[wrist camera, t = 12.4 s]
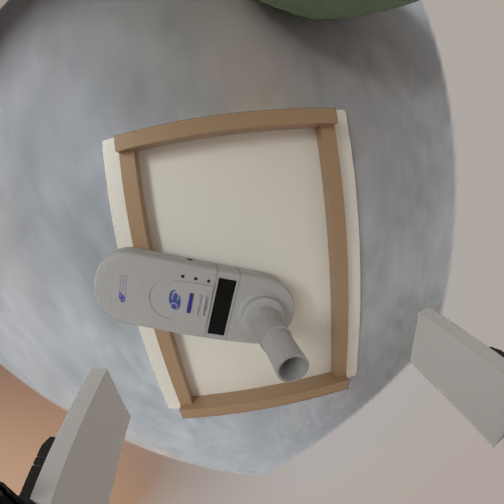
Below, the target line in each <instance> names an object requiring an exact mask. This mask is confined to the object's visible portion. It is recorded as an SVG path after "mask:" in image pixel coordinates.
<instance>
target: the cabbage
mask: <svg viewBox="0 0 504 504" xmlns="http://www.w3.org/2000/svg"><path fill="white" fill-rule="evenodd" d="M259 1H261V2H263V3H265V4H268V5H270V6H273V7H275V8H278V9H281V10H284V11H287V12H290V13H292V14H294V15H297V16H304V17H307V18H310V19H314V20H317V19H340V18H350V17H355V16H361V15H367V14H371V13H376V12H380V11H385V10H389V9H393V8H397V7H400V6H404V5H407V4H410V3H413V2H416V1H419V0H259Z"/></svg>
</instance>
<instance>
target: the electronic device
mask: <svg viewBox="0 0 504 504" xmlns="http://www.w3.org/2000/svg"><path fill="white" fill-rule="evenodd" d="M94 292H95V297H96V299H97V301H98V304H99V306H100V307H101V308H102V309H103V310H104V311H105V312H106V313H107V314H108V315H110V316H111V317H112V318H114V319H116V320H118V321H120V322H124V323H129V324H133V325H138V326H143V327H148V328H153V329H158V330H163V331H168V332H174V333H180V334H186V335H192V336H198V337H205V338H212V339H219V340H226V341H234V342H243V343H252V344H260V346H261V348H262V349H263V350H264V352H266V354H267V356H268V358H269V360H270V362H271V364H272V366H273V368H274V370H275V372H276V374H277V376H278V378H279V379H280V380H281V381H284V382H294V381H297V380H299V379H301V378H302V377H303V376H305V375H306V373H307V372H308V370H309V360H308V359H307V358H306V356H305V355H304V353H303V352H302V350H301V349H300V348H299V346H298V345H297V343H296V342H295V341H294V339H293V338H292V334H291V331H290V330H289V329H288V327H289V325H290V324H291V322H292V319H293V316H294V312H295V305H294V299H293V297H292V294H291V292H290V290H289V289H288V288H287V287H286V286H285V285H284V284H283V283H282V282H280V281H279V280H278V279H277V278H276V277H275V276H273V275H270V274H268V273H265V272H260V271H255V270H250V269H244V268H239V267H237V268H236V267H234V266H228V265H223V264H218V263H216V264H215V263H213V262H207V261H202V260H197V259H192V258H187V257H182V256H177V255H172V254H166V253H161V252H156V251H151V250H146V249H142V248H137V247H124V248H120V249H118V250H116V251H114V252H113V253H111V254H110V255H108V256H107V257H106V258H105V259H104V260H103V261H102V262H101V263H100V264H99V266H98V268H97V270H96V273H95V277H94Z"/></svg>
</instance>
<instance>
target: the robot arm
mask: <svg viewBox="0 0 504 504" xmlns="http://www.w3.org/2000/svg"><path fill="white" fill-rule="evenodd" d="M410 362H411V363H412V364H413V365H414V366H415V367H416V368H417V369H418V370H419V371H420V372H421V373H422V374H423V375H424V376H425V377H426V378H427V379H428V380H429V381H430V382H431V383H432V384H433V385H434V386H435V387H436V388H437V389H438V390H439V391H440V392H441V393H442V394H443V395H444V396H445V397H446V398H447V399H448V400H449V401H450V402H451V403H452V404H453V405H454V406H455V407H456V408H457V409H458V410H459V412H460V413H461V414H462V415H463V416H464V417H465V418H466V419H467V420H468V421H469V422H470V423H471V424H472V425H473V426H474V427H475V428H476V429H477V430H478V431H479V433H480V434H481V435H482V436H483V437H484V438H485V439H486V440H487V441H488V442H489V443H490V444H491V445H492V446H493V447H494V446H495V445H496V444H497V443H499V442H500V441H501V440H502V439H503V438H504V352H502V351H501V350H498V349H495V348H493V347H488V346H487V345H485V344H484V343H482V342H481V341H479V340H478V339H477V338H475V337H474V336H472V335H471V334H469V333H468V332H466V331H465V330H464V329H462V328H461V327H459V326H458V325H456V324H455V323H453V322H451V321H450V320H449V319H447V318H446V317H444V316H443V315H441V314H439V313H438V312H436V311H435V310H433V309H432V308H427V309H425V310H422V311H419V312H418V316H417V323H416V330H415V336H414V342H413V348H412V353H411V358H410ZM130 417H131V416H130V414H129V412H128V411H127V409H126V407H125V405H124V403H123V401H122V399H121V397H120V395H119V393H118V391H117V389H116V387H115V385H114V383H113V381H112V379H111V377H110V375H109V373H108V370H107V369H91V371H90V373H89V375H88V376H87V378H86V380H85V382H84V384H83V385H82V387H81V389H80V391H79V393H78V395H77V396H76V398H75V400H74V402H73V404H72V406H71V408H70V410H69V412H68V414H67V416H66V418H65V420H64V422H63V424H62V426H61V428H60V430H59V432H58V434H57V436H56V437H50V438H49V439H48V440H46V441H45V443H44V444H43V445H42V446H41V448H40V450H39V452H38V455H37V457H36V459H35V461H34V466H32V467H31V470H30V472H29V474H28V477H27V479H26V481H25V483H24V486H23V488H22V491H21V493H20V495H19V496H17V495H16V494H15V493H14V492H13V491H12V490H11V489H10V488H8V487H7V486H6V485H5V484H4V483H3V482H0V504H109V501H110V496H111V491H112V487H113V482H114V478H115V474H116V470H117V466H118V462H119V458H120V453H121V450H122V446H123V442H124V438H125V435H126V431H127V427H128V424H129V420H130Z"/></svg>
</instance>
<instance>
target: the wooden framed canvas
mask: <svg viewBox="0 0 504 504" xmlns="http://www.w3.org/2000/svg"><path fill="white" fill-rule="evenodd" d="M102 145H103V156H104V166H105V175H106V183H107V190H108V197H109V204H110V210H111V216H112V221H113V227H114V232H115V237H116V242H117V247H118V249H120V248H124V247H137V248H142V249H146V250H151V251H156V252H161V253H166V254H172V255H177V256H182V257H187V258H192V259H197V260H202V261H207V262H213V263H215V264H216V263H218V264H223V265H228V266H234V267H236V268H237V267H239V268H244V269H250V270H255V271H260V272H265V273H268V274H270V275H273V276H275V277H276V278H277V279H278V280H279V281H280V282H282V283H283V284H284V285H285V286H286V287H287V288H288V289H289V290H290V292H291V294H292V297H293V299H294V305H295V312H294V316H293V319H292V322H291V324H290V325H289V327H288V329H289V330H290V331H291V334H292V338H293V339H294V341H295V342H296V343H297V345H298V346H299V348H300V349H301V350H302V352H303V353H304V355H305V356H306V358H307V359H308V360H309V370H308V372H307V373H306V375H305V376H303V377H302V378H301V379H299V380H297V381H294V382H284V381H281V380H280V379H279V378H278V376H277V374H276V372H275V370H274V368H273V366H272V364H271V362H270V360H269V358H268V356H267V354H266V352H264V350H263V349H262V348H261V346H260V344H252V343H243V342H234V341H226V340H219V339H212V338H205V337H198V336H192V335H186V334H180V333H174V332H168V331H163V330H158V329H153V328H148V327H143V326H138V327H139V330H140V333H141V336H142V339H143V342H144V345H145V348H146V351H147V354H148V357H149V360H150V362H151V365H152V368H153V370H154V373H155V376H156V378H157V381H158V383H159V386H160V388H161V391H162V393H163V396H164V398H165V400H166V403H167V405H168V407H169V409H175V408H180V412H181V415H182V417H183V418H196V417H207V416H217V415H226V414H233V413H240V412H247V411H253V410H259V409H265V408H271V407H276V406H281V405H286V404H290V403H295V402H299V401H304V400H308V399H312V398H316V397H320V396H323V395H327V394H331V393H334V392H338V391H341V390H345V389H348V386H349V379H348V378H349V377H353V376H356V372H357V360H358V346H359V327H360V241H359V222H358V207H357V195H356V184H355V175H354V166H353V158H352V150H351V143H350V136H349V130H348V123H347V117H346V112H345V110H336V108H295V109H274V110H260V111H248V112H238V113H229V114H221V115H214V116H207V117H200V118H194V119H188V120H182V121H177V122H172V123H167V124H162V125H157V126H152V127H148V128H143V129H139V130H135V131H131V132H127V133H123V134H119V135H116V136H114V138H111V139H107V140H104V141H102Z"/></svg>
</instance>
